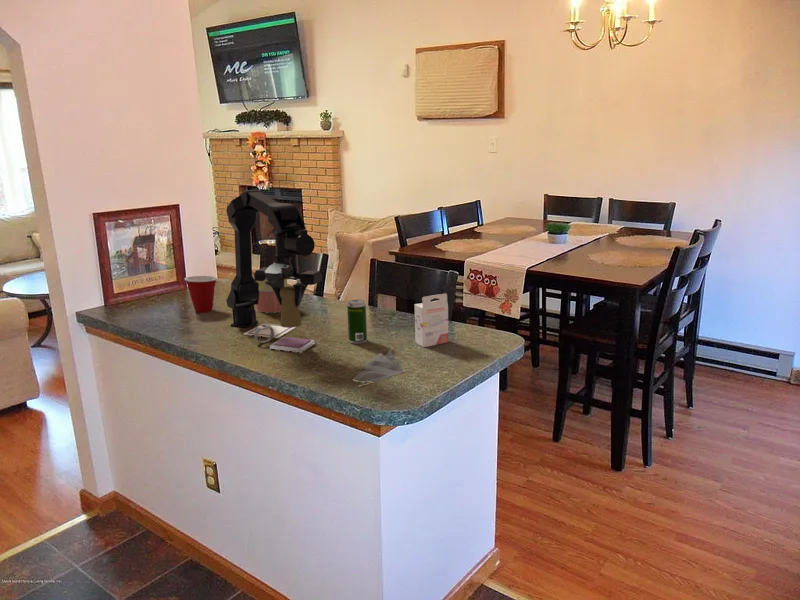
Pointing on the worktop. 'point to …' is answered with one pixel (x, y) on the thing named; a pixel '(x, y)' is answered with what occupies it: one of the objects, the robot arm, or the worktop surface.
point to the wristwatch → (263, 329)
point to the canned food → (268, 298)
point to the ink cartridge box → (431, 321)
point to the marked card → (277, 329)
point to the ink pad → (292, 344)
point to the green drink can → (357, 321)
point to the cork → (289, 308)
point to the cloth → (380, 368)
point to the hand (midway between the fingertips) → (289, 305)
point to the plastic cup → (201, 292)
